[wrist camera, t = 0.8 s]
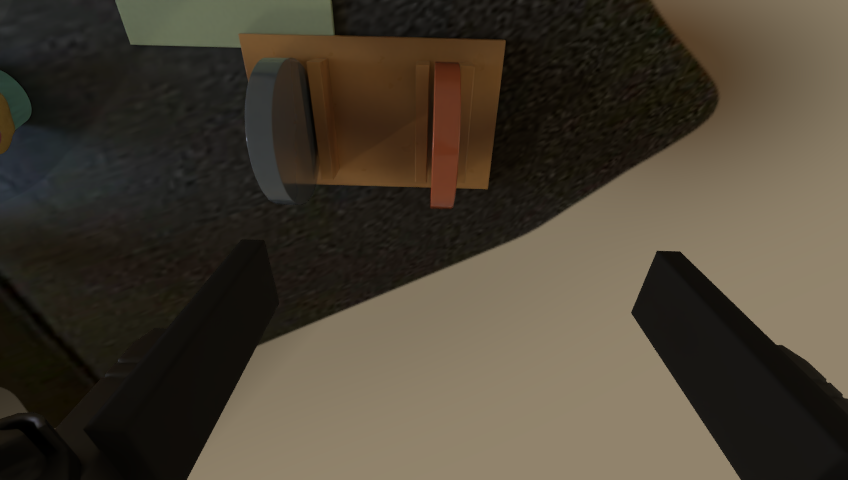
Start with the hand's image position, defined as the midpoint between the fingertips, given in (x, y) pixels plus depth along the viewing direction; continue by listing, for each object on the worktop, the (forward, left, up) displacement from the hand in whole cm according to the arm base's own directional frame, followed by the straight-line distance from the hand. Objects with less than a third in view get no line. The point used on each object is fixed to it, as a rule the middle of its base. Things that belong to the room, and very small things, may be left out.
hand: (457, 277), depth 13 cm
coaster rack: (0, -6, -22) cm, 23 cm away
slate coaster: (0, -11, -16) cm, 20 cm away
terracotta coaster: (0, 0, -16) cm, 16 cm away
